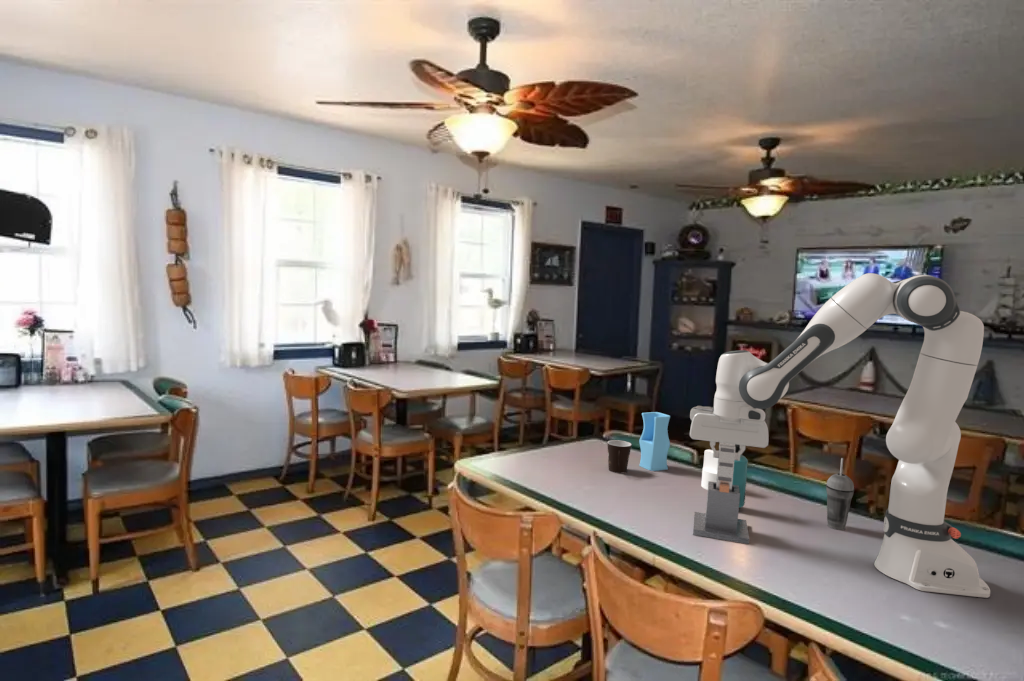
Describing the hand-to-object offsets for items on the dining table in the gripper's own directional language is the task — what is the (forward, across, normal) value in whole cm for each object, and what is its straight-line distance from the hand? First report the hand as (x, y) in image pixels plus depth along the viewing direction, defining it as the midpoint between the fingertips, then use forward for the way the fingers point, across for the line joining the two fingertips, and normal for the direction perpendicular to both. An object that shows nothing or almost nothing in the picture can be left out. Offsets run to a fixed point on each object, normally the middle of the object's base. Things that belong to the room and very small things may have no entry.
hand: (726, 458), depth 162 cm
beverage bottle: (+20, +4, +20) cm, 29 cm away
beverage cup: (+20, +32, +18) cm, 42 cm away
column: (+18, 0, 0) cm, 18 cm away
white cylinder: (+20, -1, +39) cm, 44 cm away
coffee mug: (+20, -35, +41) cm, 58 cm away
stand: (+20, 0, 0) cm, 20 cm away
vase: (+20, -23, +53) cm, 61 cm away
